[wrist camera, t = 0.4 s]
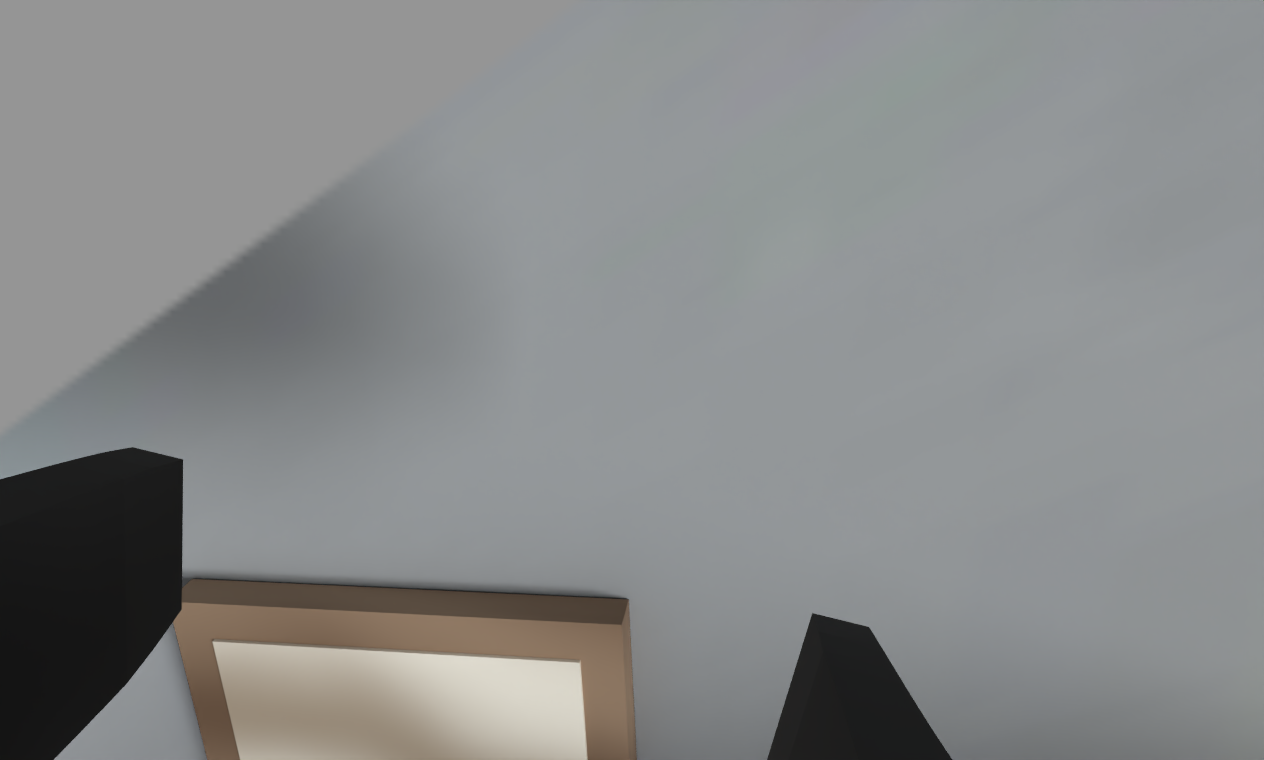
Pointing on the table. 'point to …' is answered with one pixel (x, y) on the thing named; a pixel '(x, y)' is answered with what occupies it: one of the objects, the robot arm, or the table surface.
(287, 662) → the brown picture frame
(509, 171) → the table surface
